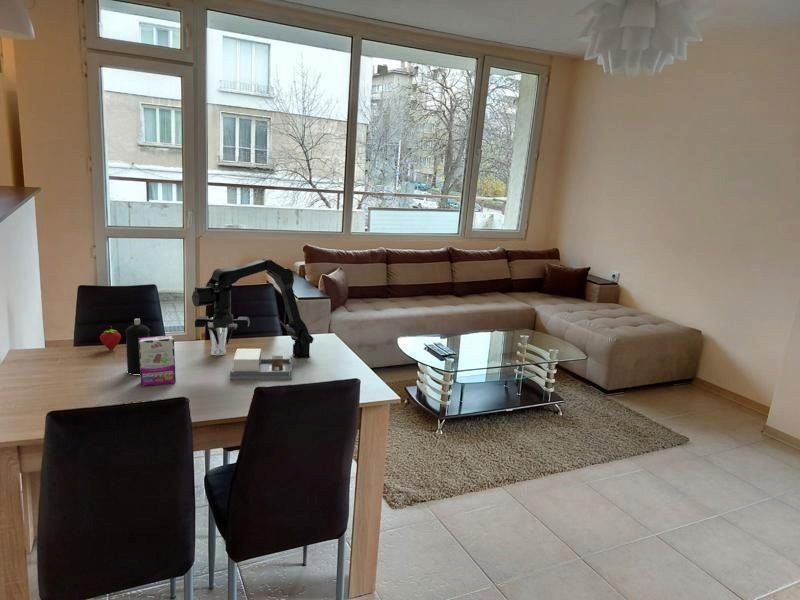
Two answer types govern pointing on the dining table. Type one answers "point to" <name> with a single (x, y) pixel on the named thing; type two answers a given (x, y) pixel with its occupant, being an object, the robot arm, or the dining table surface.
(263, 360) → the housing base
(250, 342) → the dining table surface
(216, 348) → the beer glass
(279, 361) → the walnut block
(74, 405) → the dining table surface
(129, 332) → the black bottle
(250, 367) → the cover
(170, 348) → the candy bar box
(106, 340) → the strawberry
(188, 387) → the dining table surface
